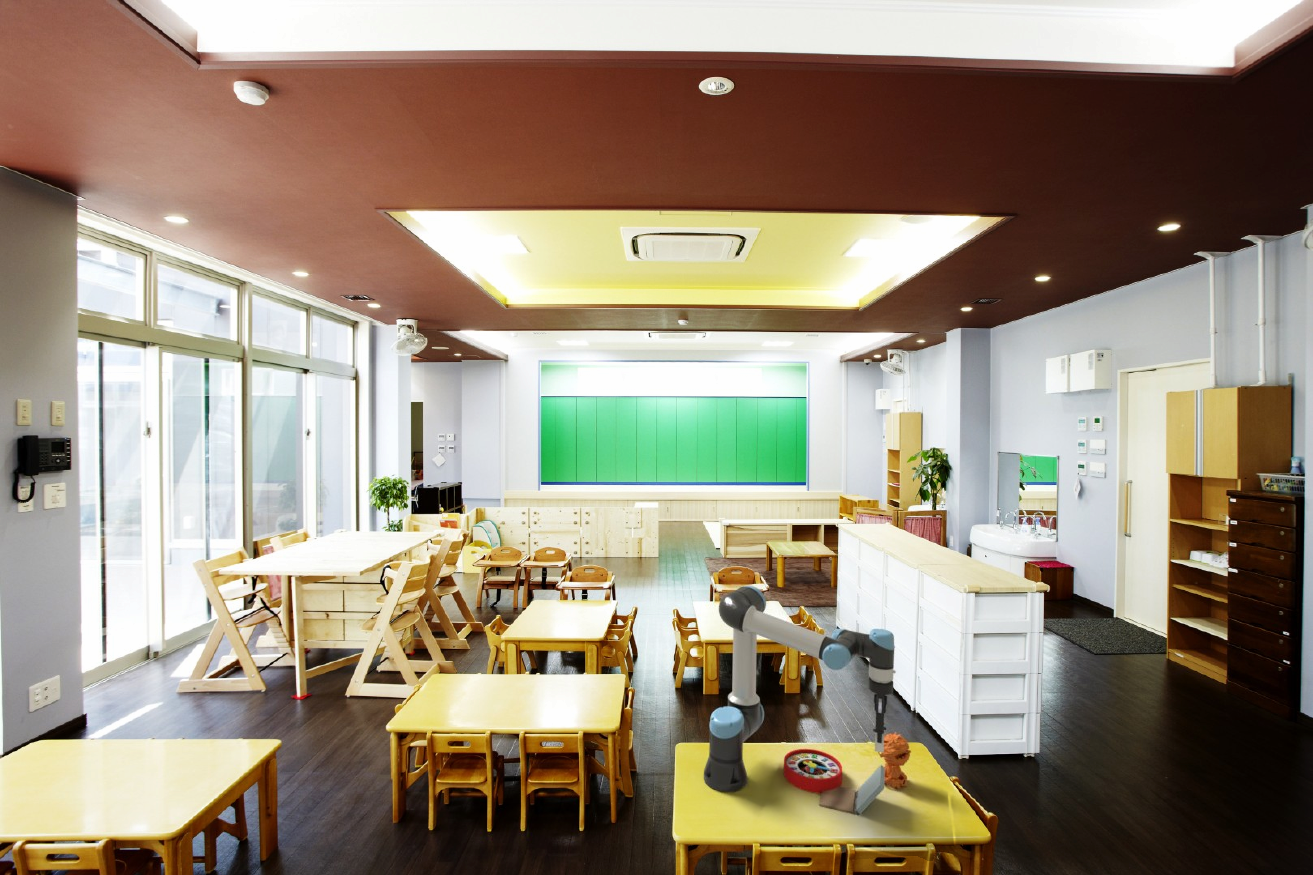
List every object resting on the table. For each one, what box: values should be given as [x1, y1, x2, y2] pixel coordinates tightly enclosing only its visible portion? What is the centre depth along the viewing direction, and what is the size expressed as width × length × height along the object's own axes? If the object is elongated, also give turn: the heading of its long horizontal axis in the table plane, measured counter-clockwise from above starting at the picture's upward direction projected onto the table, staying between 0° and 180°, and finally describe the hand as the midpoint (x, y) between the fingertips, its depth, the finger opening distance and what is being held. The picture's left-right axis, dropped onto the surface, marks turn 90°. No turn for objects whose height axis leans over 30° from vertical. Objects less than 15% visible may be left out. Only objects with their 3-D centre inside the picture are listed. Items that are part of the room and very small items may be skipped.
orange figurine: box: [877, 731, 912, 790], centre depth 218 cm, size 11×11×18 cm
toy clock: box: [783, 748, 843, 794], centre depth 220 cm, size 20×6×20 cm
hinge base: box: [818, 785, 860, 816], centre depth 207 cm, size 12×13×2 cm
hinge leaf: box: [854, 764, 885, 815], centre depth 204 cm, size 14×13×2 cm
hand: (879, 750), depth 202 cm, fingers closed
